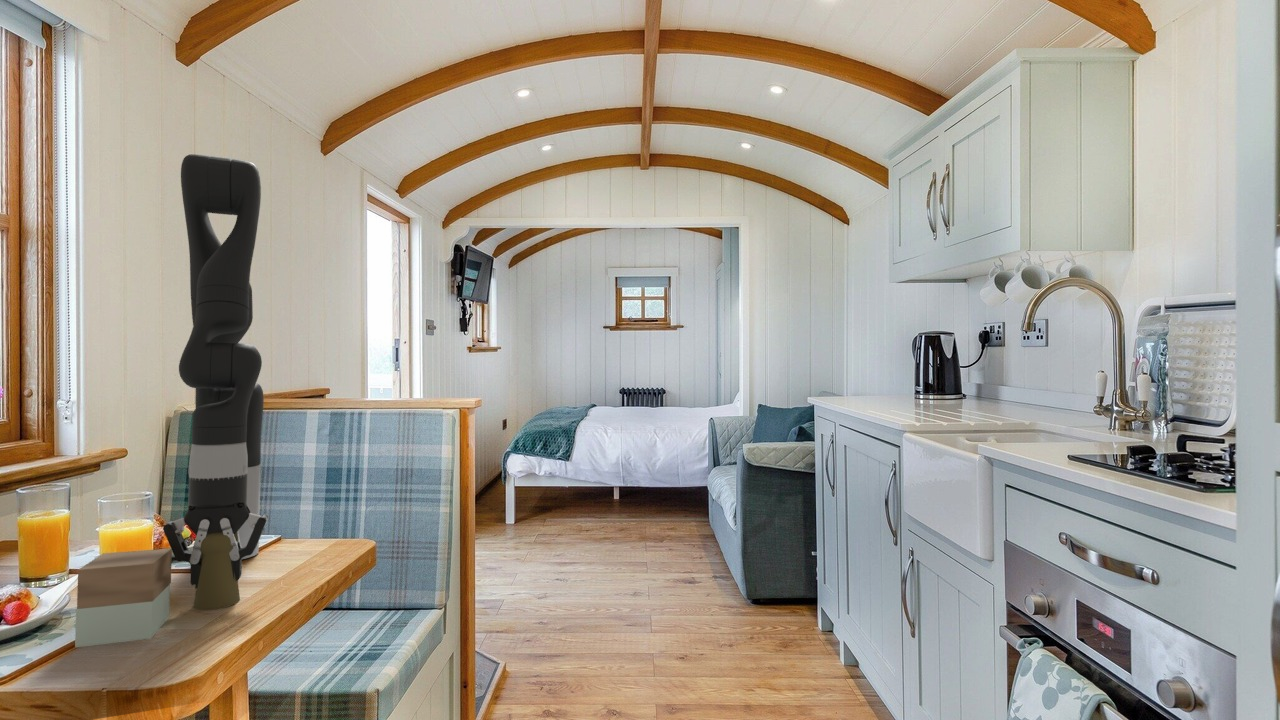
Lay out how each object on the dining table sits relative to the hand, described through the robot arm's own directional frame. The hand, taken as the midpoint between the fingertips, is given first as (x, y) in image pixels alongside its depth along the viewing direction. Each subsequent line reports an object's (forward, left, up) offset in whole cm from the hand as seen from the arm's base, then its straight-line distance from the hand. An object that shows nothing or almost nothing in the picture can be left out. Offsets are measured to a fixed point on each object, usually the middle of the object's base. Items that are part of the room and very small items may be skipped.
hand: (215, 584), depth 98 cm
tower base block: (+8, -9, -3) cm, 12 cm away
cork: (0, 0, -3) cm, 3 cm away
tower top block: (+8, -9, +2) cm, 12 cm away
